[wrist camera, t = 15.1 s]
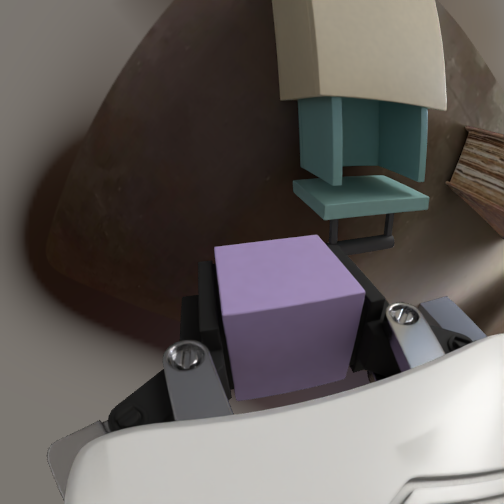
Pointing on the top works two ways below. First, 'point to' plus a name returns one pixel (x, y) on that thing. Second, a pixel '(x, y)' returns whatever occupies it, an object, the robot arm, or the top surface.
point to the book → (482, 176)
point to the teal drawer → (361, 162)
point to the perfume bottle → (450, 318)
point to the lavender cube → (286, 314)
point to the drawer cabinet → (360, 50)
